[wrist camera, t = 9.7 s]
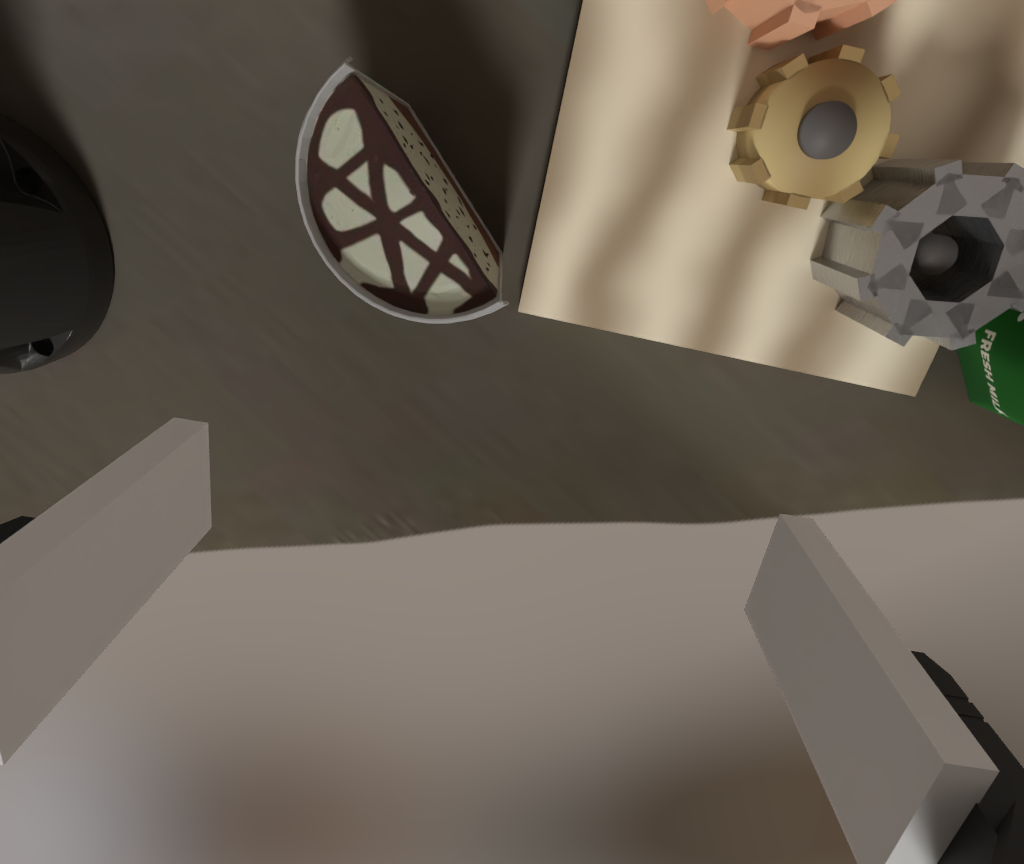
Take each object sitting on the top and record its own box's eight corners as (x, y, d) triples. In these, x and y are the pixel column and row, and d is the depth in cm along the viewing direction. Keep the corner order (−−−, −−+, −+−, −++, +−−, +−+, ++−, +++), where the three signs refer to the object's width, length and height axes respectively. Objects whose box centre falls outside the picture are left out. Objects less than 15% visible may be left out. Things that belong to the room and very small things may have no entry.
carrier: (518, 306, 39) (514, 331, 34) (626, -206, 30) (643, -289, 24) (902, 388, 40) (960, 426, 34) (1124, -86, 31) (1253, -140, 25)
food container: (305, 145, 36) (222, 142, 27) (392, 77, 35) (336, 49, 26) (432, 329, 40) (398, 381, 31) (516, 275, 39) (506, 313, 29)
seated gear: (796, 314, 37) (840, 342, 32) (834, 155, 34) (889, 154, 28) (946, 325, 37) (1015, 355, 31) (998, 165, 34) (1086, 167, 28)
